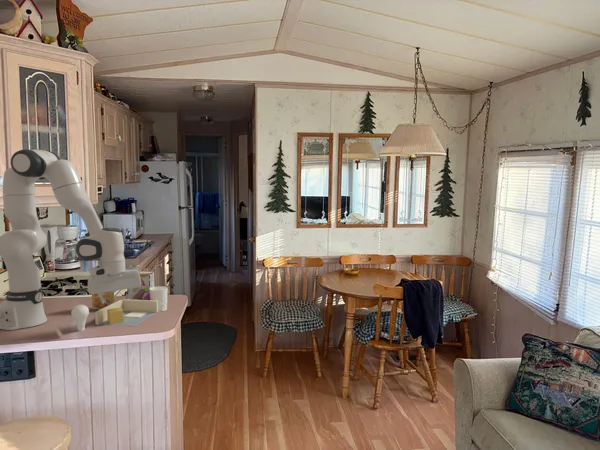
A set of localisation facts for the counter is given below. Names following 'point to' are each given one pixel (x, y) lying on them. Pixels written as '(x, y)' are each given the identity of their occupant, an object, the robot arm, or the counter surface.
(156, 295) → the white cup
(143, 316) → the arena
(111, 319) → the cube
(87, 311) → the lightbulb
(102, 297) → the robot arm
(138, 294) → the candy bar box
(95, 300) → the candy box
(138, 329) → the counter surface
